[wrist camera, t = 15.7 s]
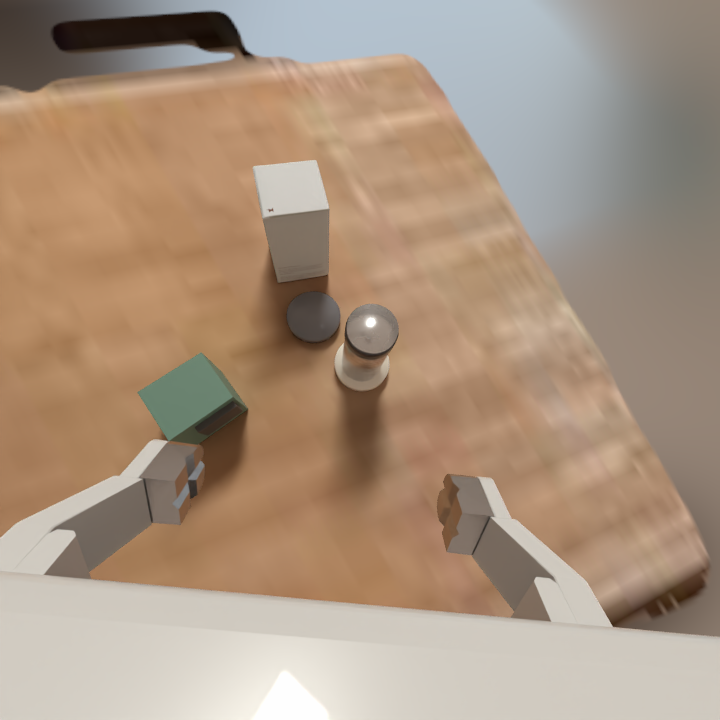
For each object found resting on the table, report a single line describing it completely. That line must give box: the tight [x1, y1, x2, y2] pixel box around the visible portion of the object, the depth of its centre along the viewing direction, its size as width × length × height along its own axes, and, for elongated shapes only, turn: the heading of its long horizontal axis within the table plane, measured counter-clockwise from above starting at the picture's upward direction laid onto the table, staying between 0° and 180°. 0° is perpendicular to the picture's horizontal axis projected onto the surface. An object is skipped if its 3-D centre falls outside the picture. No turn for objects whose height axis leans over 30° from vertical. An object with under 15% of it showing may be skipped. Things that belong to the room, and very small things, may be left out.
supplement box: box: [253, 160, 329, 283], centre depth 42 cm, size 7×7×13 cm
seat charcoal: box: [287, 291, 340, 343], centre depth 44 cm, size 7×7×1 cm
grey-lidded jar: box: [342, 304, 399, 382], centre depth 37 cm, size 5×5×11 cm
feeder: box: [138, 353, 248, 445], centre depth 37 cm, size 7×7×7 cm
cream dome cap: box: [335, 344, 389, 392], centre depth 43 cm, size 7×7×1 cm
